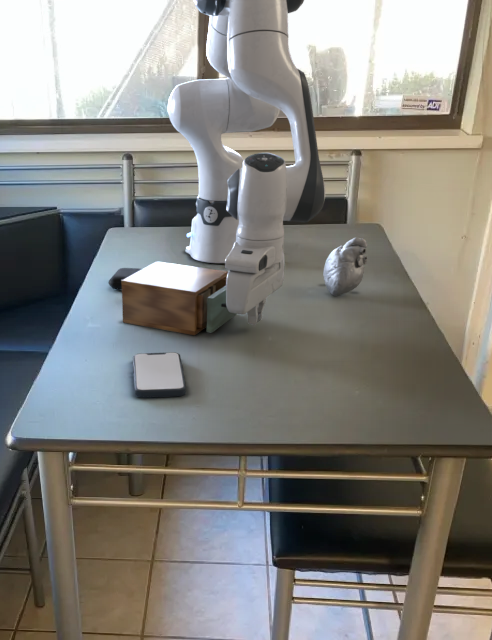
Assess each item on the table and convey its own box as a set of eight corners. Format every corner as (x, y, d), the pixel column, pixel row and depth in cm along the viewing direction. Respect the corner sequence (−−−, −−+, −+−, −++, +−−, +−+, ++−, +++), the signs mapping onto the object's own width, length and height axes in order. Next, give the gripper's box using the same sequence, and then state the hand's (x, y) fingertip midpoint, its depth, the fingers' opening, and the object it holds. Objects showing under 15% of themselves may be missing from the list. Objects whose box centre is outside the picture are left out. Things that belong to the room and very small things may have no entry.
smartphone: (187, 398, 137) (180, 359, 150) (187, 389, 136) (180, 351, 149) (134, 400, 137) (132, 361, 150) (134, 391, 136) (132, 353, 149)
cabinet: (226, 312, 171) (228, 271, 166) (194, 335, 160) (195, 292, 155) (157, 301, 178) (156, 261, 173) (122, 322, 167) (121, 280, 163)
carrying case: (105, 292, 183) (169, 296, 180) (104, 279, 181) (169, 282, 178) (117, 278, 192) (178, 281, 189) (117, 265, 190) (179, 268, 187)
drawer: (262, 315, 166) (264, 282, 162) (234, 336, 157) (236, 302, 153) (174, 301, 175) (174, 269, 171) (143, 320, 165) (142, 287, 162)
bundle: (196, 303, 170) (196, 281, 167) (215, 306, 168) (216, 284, 165) (176, 316, 163) (176, 294, 161) (195, 320, 162) (196, 297, 159)
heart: (323, 280, 185) (326, 228, 177) (365, 283, 182) (371, 231, 174) (314, 302, 179) (318, 249, 170) (359, 305, 176) (364, 252, 167)
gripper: (264, 235, 161) (260, 303, 169) (220, 262, 147) (218, 336, 155) (295, 238, 159) (289, 308, 166) (253, 267, 144) (248, 341, 152)
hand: (254, 322), depth 161 cm, fingers closed
